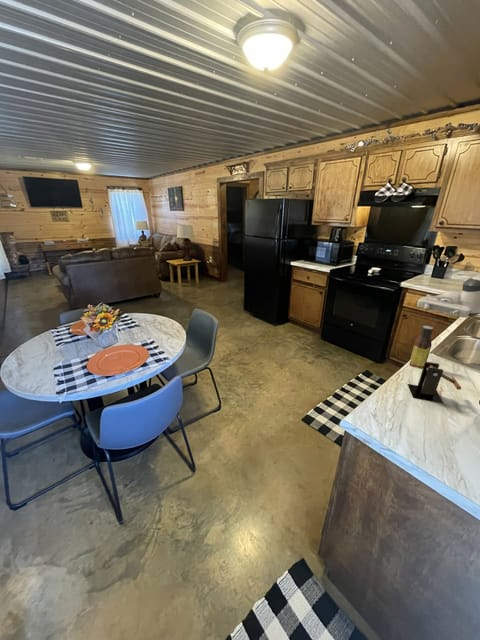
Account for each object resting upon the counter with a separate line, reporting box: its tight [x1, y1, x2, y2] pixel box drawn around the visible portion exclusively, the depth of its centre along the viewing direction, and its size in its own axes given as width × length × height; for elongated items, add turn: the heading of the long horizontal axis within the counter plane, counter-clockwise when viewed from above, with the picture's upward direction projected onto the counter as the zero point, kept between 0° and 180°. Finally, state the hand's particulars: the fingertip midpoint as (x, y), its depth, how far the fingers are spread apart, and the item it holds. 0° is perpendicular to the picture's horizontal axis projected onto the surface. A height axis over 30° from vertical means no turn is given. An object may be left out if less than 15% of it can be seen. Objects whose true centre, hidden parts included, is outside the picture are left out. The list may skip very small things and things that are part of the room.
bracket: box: [407, 361, 444, 405], centre depth 100 cm, size 10×9×14 cm
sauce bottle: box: [409, 325, 434, 369], centre depth 118 cm, size 6×6×20 cm
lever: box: [426, 365, 462, 391], centre depth 98 cm, size 11×7×2 cm, turn 72°
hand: (438, 311), depth 120 cm, fingers open, 8 cm apart
